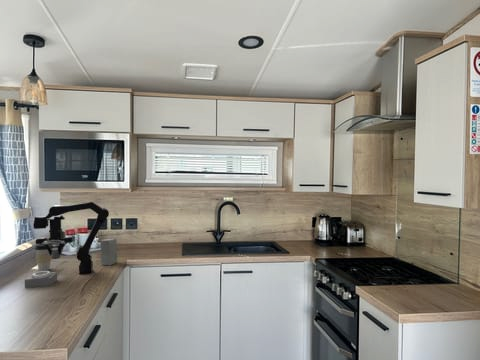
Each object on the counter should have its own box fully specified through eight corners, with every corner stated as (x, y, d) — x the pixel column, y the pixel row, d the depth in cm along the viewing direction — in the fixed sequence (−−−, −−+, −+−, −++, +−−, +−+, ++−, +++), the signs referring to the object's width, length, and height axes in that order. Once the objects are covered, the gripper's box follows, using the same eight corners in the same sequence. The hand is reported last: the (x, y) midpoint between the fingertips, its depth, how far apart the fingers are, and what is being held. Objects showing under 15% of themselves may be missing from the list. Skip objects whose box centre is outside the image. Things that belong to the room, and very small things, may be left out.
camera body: (57, 280, 173) (56, 269, 172) (50, 285, 164) (50, 275, 164) (32, 281, 170) (32, 271, 170) (24, 287, 161) (24, 276, 161)
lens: (61, 256, 182) (61, 244, 182) (58, 258, 177) (58, 246, 177) (53, 257, 181) (52, 244, 181) (49, 259, 176) (49, 246, 176)
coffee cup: (32, 272, 186) (32, 247, 186) (38, 267, 196) (37, 243, 195) (50, 271, 189) (50, 246, 189) (55, 266, 198) (55, 242, 198)
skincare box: (109, 265, 199) (109, 240, 199) (99, 265, 201) (99, 240, 200) (117, 262, 207) (117, 238, 207) (108, 261, 209) (107, 237, 209)
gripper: (77, 225, 189) (78, 251, 189) (43, 226, 185) (43, 252, 185) (71, 228, 178) (71, 255, 178) (34, 229, 174) (35, 257, 174)
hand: (55, 255), depth 179 cm, fingers closed on lens, 4 cm apart
